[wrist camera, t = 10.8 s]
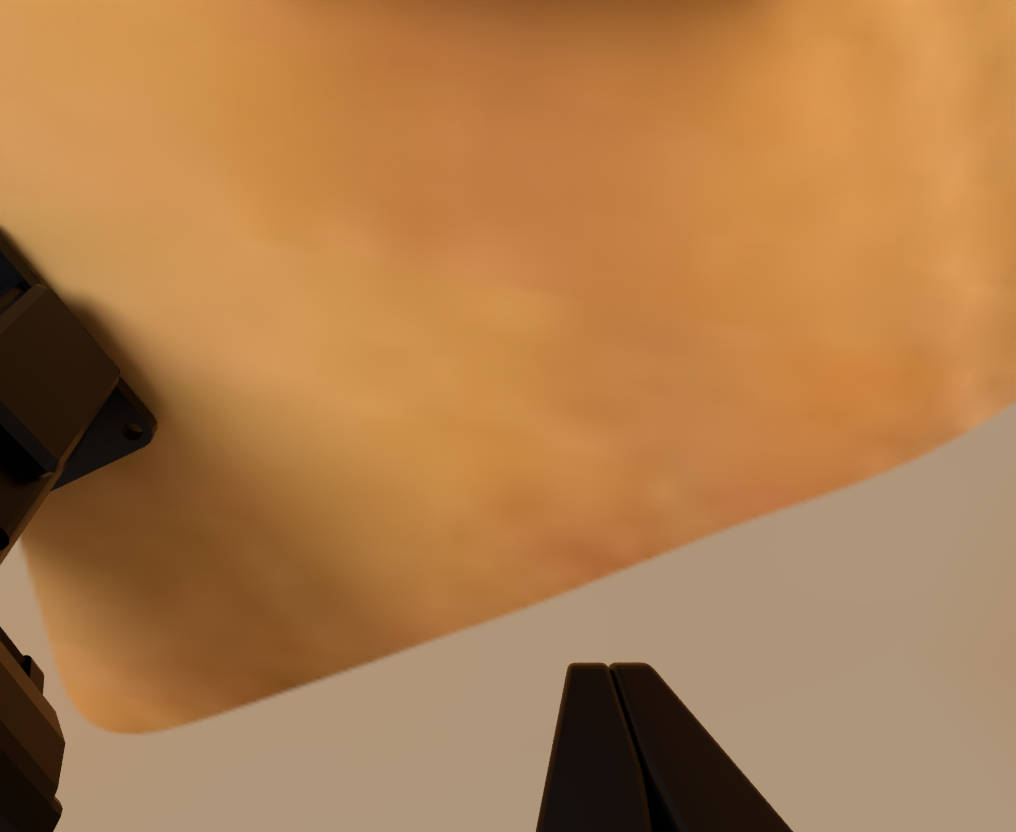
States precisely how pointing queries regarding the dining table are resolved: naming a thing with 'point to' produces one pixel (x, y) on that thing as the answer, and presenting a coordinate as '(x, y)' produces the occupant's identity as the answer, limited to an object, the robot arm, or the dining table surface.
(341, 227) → the dining table surface
